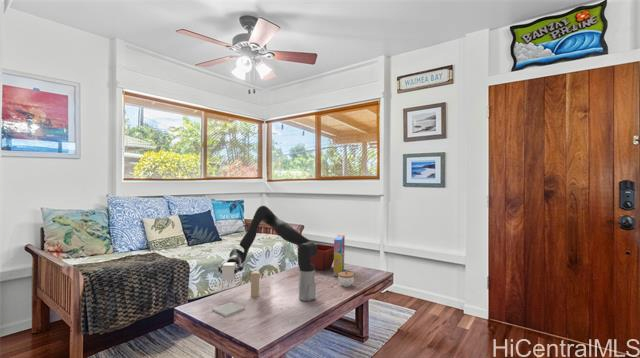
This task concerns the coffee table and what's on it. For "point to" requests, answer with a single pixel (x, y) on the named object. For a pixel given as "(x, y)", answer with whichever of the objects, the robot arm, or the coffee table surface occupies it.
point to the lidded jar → (346, 278)
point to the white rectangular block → (228, 271)
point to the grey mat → (228, 309)
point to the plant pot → (323, 257)
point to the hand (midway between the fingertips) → (228, 271)
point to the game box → (338, 254)
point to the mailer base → (255, 283)
